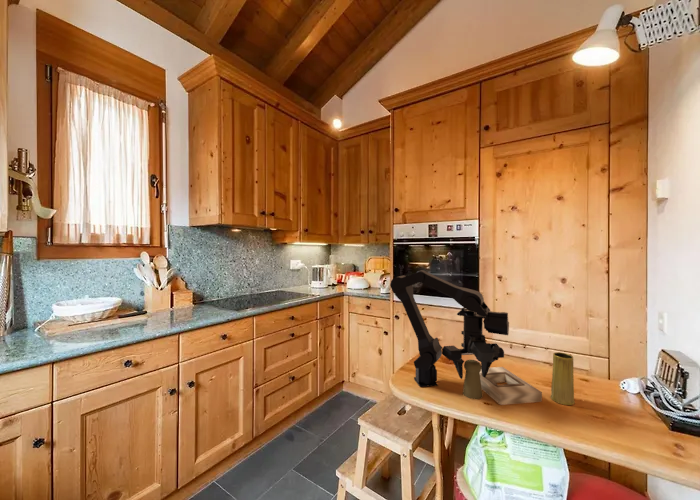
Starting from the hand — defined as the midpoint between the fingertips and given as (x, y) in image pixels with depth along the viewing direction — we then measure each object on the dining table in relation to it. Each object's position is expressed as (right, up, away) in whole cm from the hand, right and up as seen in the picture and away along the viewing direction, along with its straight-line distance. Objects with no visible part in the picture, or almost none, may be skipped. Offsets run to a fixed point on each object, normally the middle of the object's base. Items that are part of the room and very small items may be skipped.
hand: (472, 377), depth 96 cm
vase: (+27, -6, -4) cm, 28 cm away
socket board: (+12, -5, +4) cm, 13 cm away
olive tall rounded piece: (0, -6, 0) cm, 6 cm away
